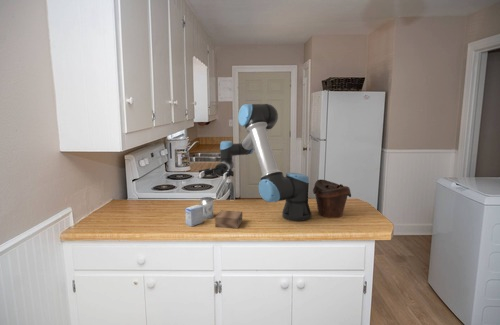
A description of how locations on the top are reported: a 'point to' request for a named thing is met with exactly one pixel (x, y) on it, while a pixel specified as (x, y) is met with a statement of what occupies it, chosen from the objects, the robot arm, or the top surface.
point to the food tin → (207, 207)
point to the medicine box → (194, 215)
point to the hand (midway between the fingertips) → (211, 176)
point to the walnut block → (228, 219)
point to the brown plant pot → (330, 198)
